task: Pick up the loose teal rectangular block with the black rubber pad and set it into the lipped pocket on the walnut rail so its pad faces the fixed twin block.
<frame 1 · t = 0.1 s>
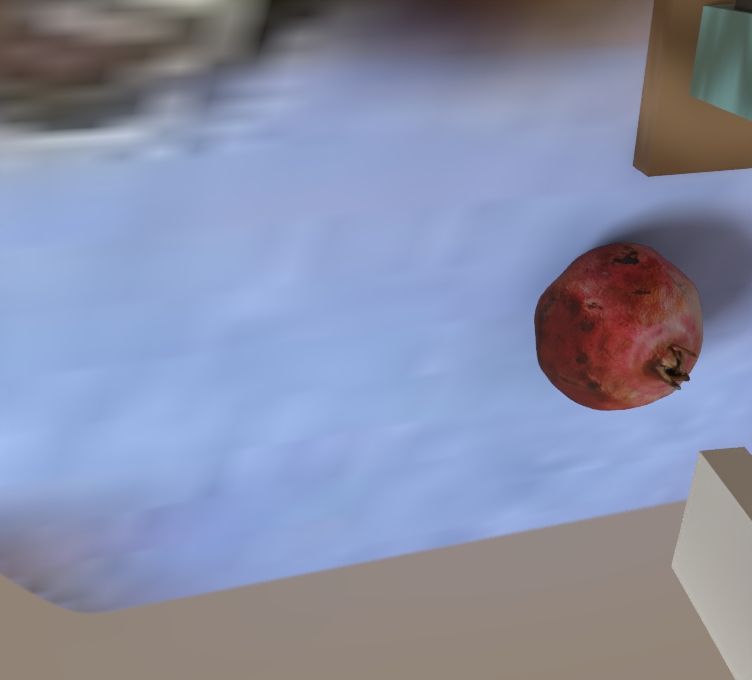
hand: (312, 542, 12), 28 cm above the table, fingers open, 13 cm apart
fruit: (590, 296, 42), on the table
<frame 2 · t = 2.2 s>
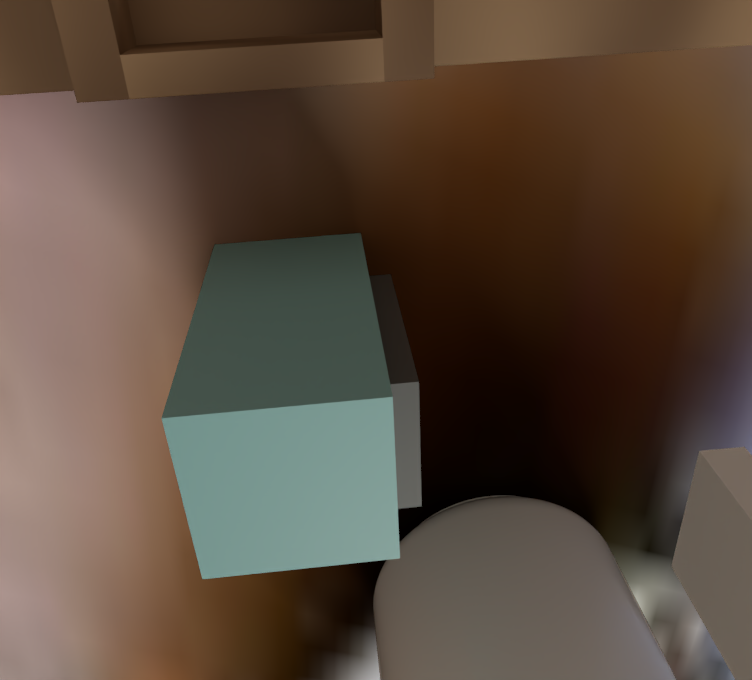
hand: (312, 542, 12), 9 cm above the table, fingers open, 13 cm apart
teal rectangular block: (295, 303, 20), on the table
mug: (460, 587, 27), on the table
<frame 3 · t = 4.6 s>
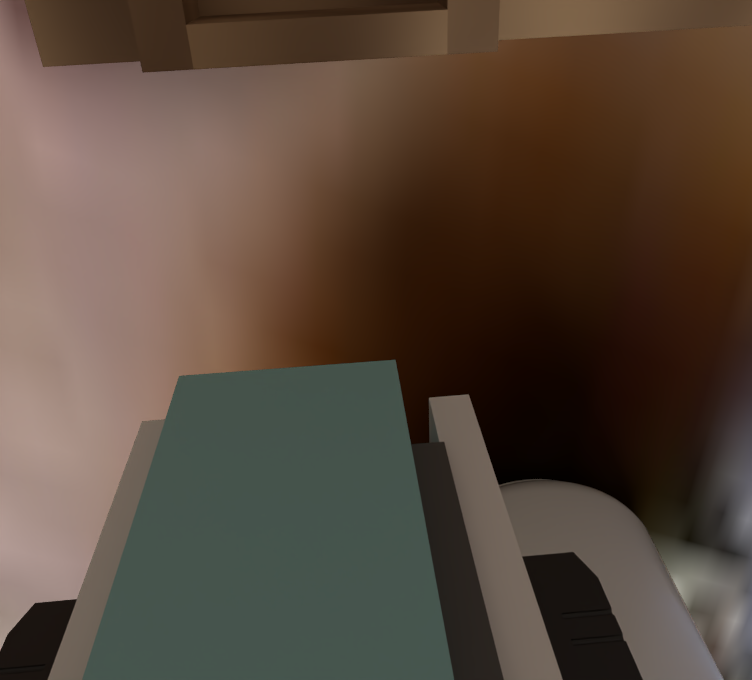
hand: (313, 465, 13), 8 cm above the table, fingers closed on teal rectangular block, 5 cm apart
teal rectangular block: (298, 451, 14), point 7 cm above the table, touching gripper
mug: (495, 570, 27), on the table
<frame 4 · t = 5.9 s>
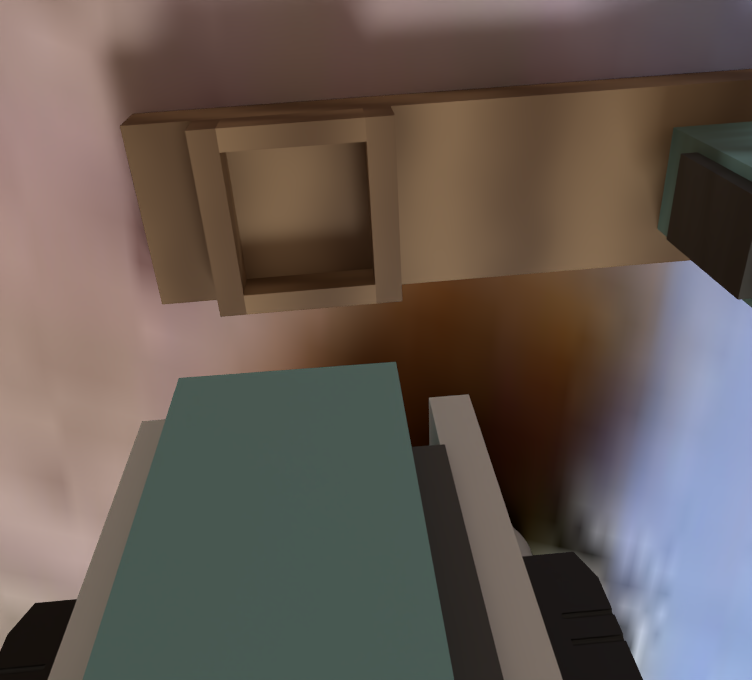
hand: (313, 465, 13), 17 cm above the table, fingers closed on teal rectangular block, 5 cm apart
rail: (499, 176, 28), on the table
teal rectangular block: (298, 454, 14), point 16 cm above the table, touching gripper
when the fingers open (4 cm above the table, at t = 7.5 s): teal rectangular block drops 1 cm, resting on rail.
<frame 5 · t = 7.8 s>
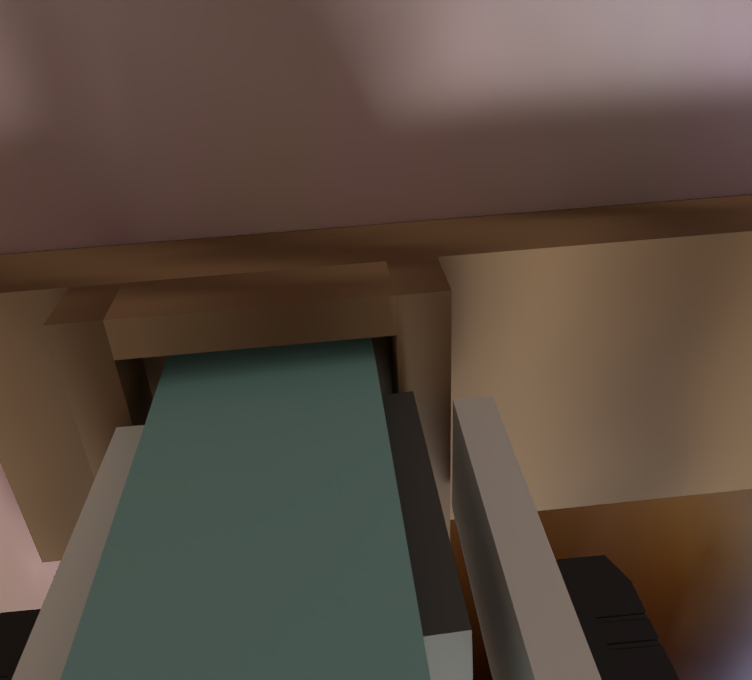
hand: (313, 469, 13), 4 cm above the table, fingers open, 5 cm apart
rail: (604, 340, 17), on the table
teal rectangular block: (285, 414, 15), point 2 cm above the table, touching rail
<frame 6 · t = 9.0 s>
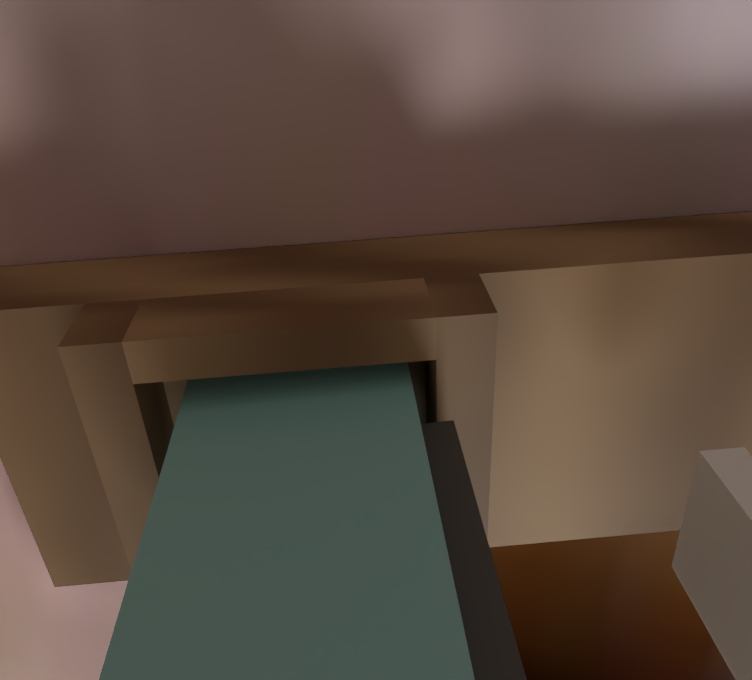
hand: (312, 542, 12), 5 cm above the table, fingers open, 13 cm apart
rail: (648, 360, 16), on the table
teal rectangular block: (312, 438, 14), point 2 cm above the table, touching rail
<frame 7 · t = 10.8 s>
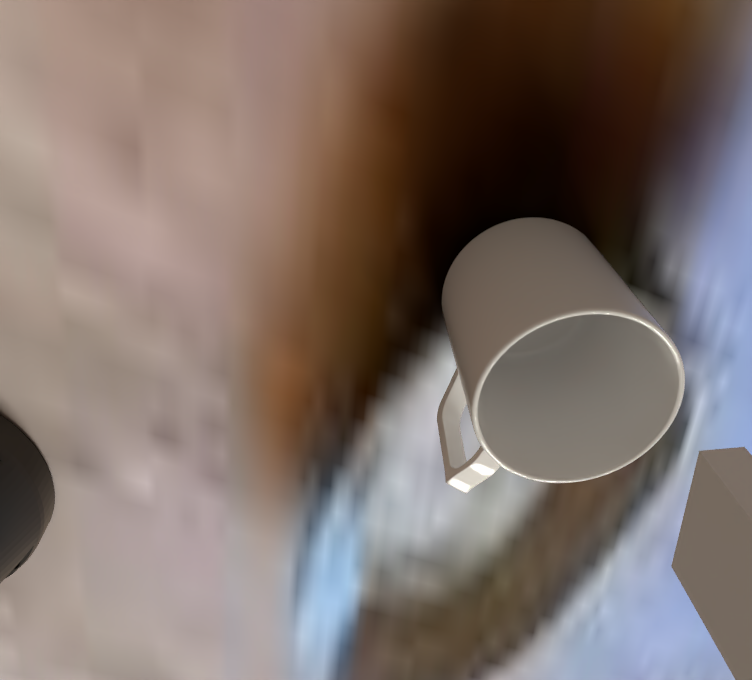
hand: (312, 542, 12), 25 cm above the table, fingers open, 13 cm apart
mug: (498, 304, 39), on the table
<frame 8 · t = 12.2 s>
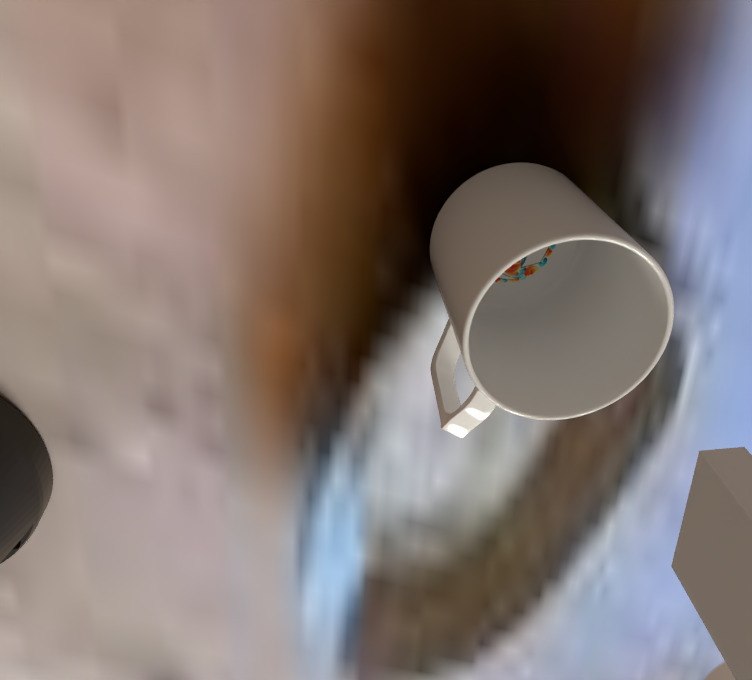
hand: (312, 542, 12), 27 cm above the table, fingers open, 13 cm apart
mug: (487, 256, 39), on the table
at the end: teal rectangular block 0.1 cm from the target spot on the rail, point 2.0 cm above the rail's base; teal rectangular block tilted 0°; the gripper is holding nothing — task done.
